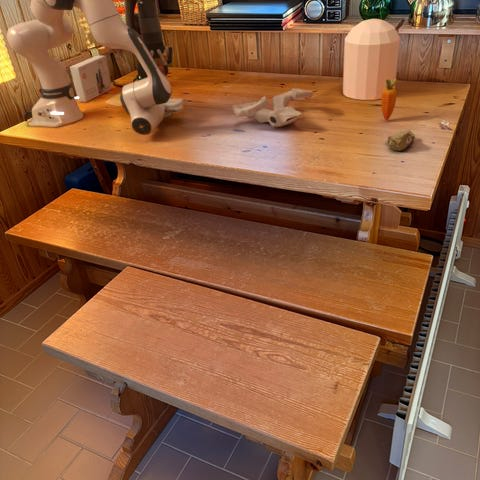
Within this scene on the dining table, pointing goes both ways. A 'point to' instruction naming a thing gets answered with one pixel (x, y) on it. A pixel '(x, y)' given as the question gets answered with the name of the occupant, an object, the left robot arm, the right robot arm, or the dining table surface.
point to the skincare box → (91, 78)
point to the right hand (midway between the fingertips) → (158, 76)
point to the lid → (162, 69)
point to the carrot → (388, 99)
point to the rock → (400, 140)
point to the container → (370, 59)
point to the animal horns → (280, 112)
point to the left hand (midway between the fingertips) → (163, 99)
